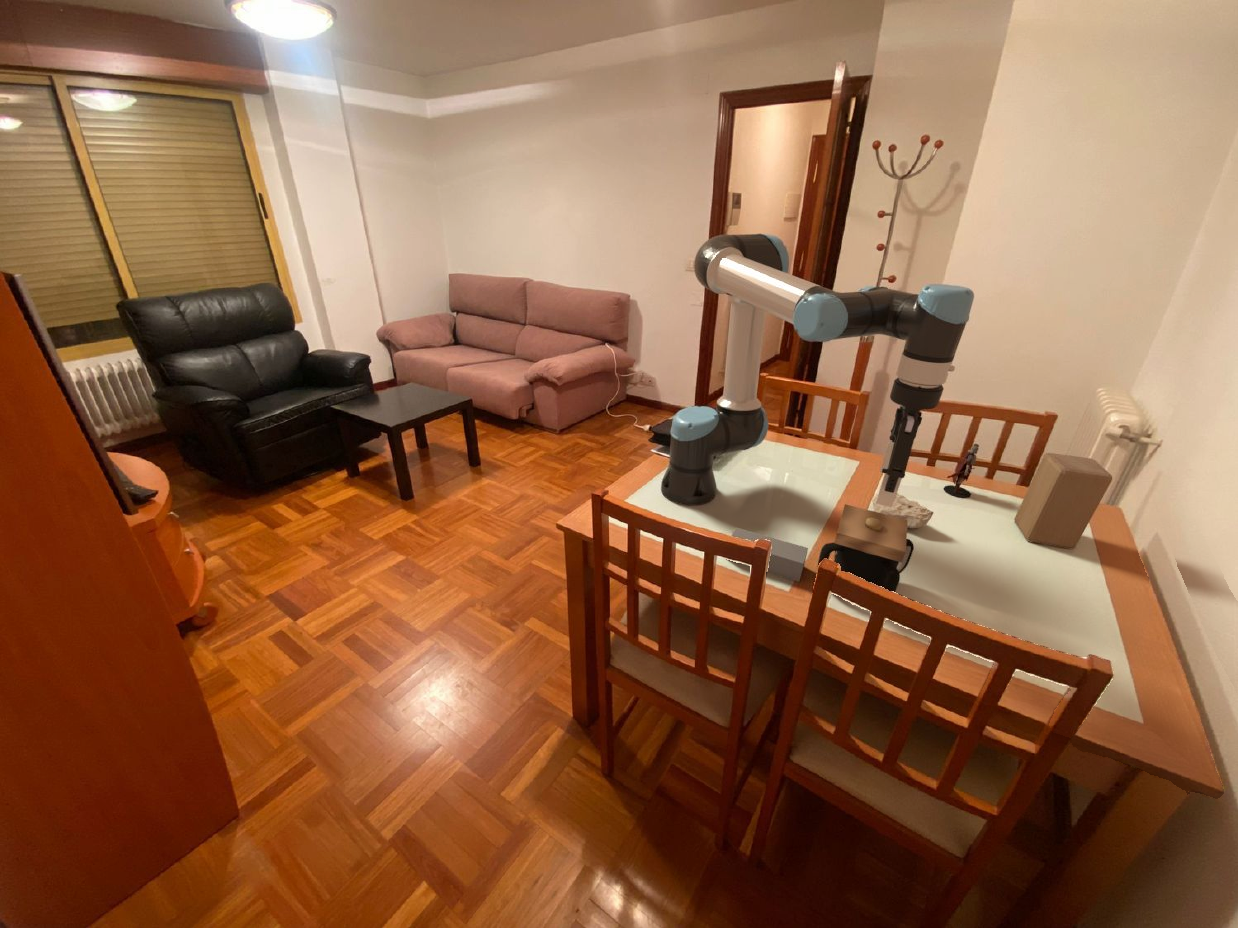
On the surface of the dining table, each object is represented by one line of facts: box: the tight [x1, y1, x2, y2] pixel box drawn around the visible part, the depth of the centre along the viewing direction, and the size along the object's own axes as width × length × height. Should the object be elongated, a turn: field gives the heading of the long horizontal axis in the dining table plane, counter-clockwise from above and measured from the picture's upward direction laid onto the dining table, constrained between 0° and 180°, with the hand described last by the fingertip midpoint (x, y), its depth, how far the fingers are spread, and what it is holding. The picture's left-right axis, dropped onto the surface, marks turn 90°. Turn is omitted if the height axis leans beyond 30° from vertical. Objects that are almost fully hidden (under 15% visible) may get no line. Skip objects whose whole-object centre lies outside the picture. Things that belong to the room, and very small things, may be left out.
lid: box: [834, 503, 908, 562], centre depth 100 cm, size 12×12×4 cm
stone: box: [871, 492, 934, 529], centre depth 125 cm, size 8×12×10 cm
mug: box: [817, 538, 915, 593], centre depth 103 cm, size 16×16×12 cm
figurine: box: [943, 443, 980, 499], centre depth 137 cm, size 7×7×15 cm
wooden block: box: [1014, 452, 1113, 550], centre depth 118 cm, size 10×10×20 cm
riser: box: [731, 527, 809, 583], centre depth 110 cm, size 16×6×5 cm, turn 62°
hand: (885, 487), depth 95 cm, fingers open, 13 cm apart
